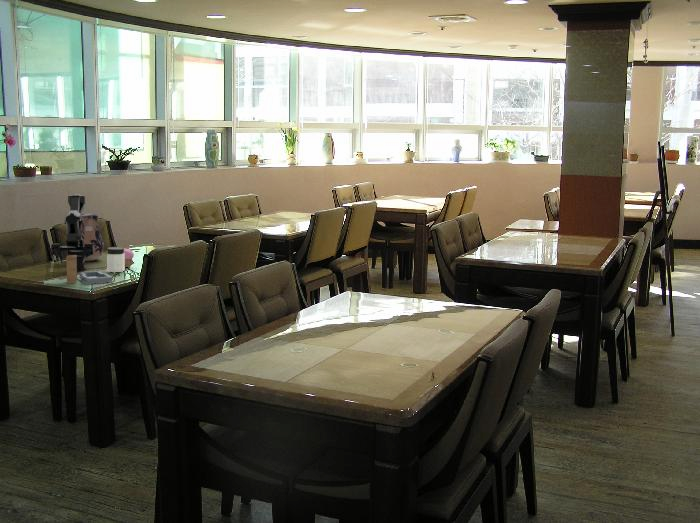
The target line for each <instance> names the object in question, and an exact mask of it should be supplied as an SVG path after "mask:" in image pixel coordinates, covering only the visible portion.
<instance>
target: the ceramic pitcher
mask: <svg viewBox="0 0 700 523" xmlns="http://www.w3.org/2000/svg"><path fill="white" fill-rule="evenodd" d="M66 217H67V215H66V216H65V218H66ZM81 218H82V219H83V224H82V225H81V233H82V241H83V243H84V244H93V250H94V253H93V255H90V256H88V257H87V258H86V260H85V261H84V262H92V261H96V260H98V259H100V257H101V256H102V255H103V252H104V248H105V244H104V239H103V236H102V233H101V229H100V227H99V223H98V218H99V215H97V214H95V213H81ZM64 226H65V229H66V230H67V228H66V225H65V224H64Z"/></svg>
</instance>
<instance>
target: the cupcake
mask: <svg viewBox="0 0 700 523" xmlns="http://www.w3.org/2000/svg"><path fill="white" fill-rule="evenodd" d="M124 253H125V267H129V268H130V267H131V266H132V259H133V258H134V257H135V254H134V252H133V251H132V250H131V249H129V248H128V249H127V248H124Z"/></svg>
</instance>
